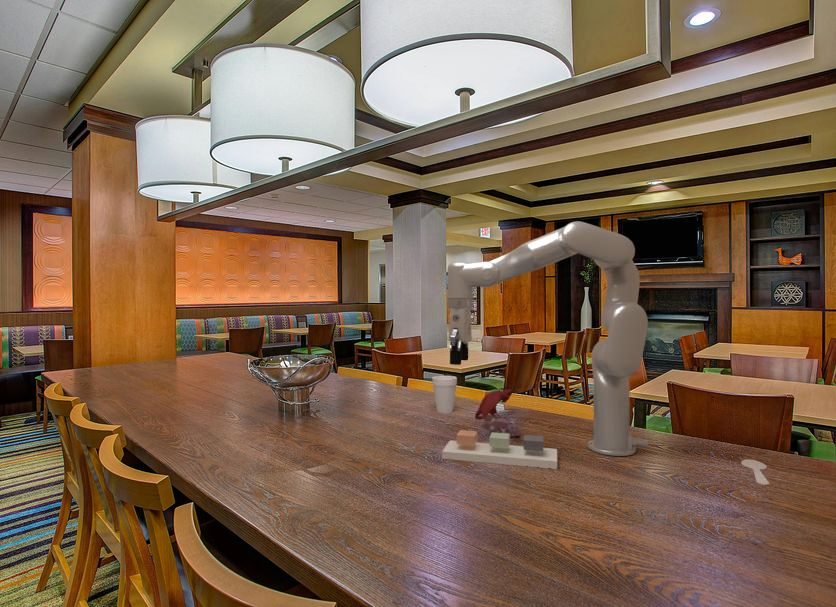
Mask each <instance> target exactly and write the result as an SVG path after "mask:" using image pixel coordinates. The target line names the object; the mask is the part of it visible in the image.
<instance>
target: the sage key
mask: <svg viewBox="0 0 836 607" xmlns="http://www.w3.org/2000/svg"><path fill="white" fill-rule="evenodd" d="M488 439H489V440H488V441H489V442H488V443H489V447H497V448H509V445H511V437H510V434H507V433H504V432H502V433H494V432H492V433H491V432H490V435H489V438H488Z"/></svg>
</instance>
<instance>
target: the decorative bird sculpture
mask: <svg viewBox="0 0 836 607" xmlns="http://www.w3.org/2000/svg"><path fill="white" fill-rule="evenodd" d="M513 393H514V389H506V390H499V389H498V390H493V391H490V392H489V393H487V394H486V395H485V396H483V398H482V400H481V402H480V403H479V404H480V405H479V407H478V408H477V410H476V413H475V415H474V418H476V419H477V418H478V417H479V416H480V415H481V417H480V418H481V419H482V421H484V420H485V419H486V418H487V416H488V415H490V416H493V417H494V418H495V419H500V418H501V419H502V417H503V415H502V416H500V415H499V414H498V410H497V405H498V404H499V403H500V402H501V403H507V401H508V400H510V398H511V396H512V394H513ZM496 415H497V416H496ZM498 417H499V418H498Z"/></svg>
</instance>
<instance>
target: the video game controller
mask: <svg viewBox="0 0 836 607" xmlns="http://www.w3.org/2000/svg"><path fill="white" fill-rule="evenodd" d="M499 418H500V417H499ZM499 418H498V419H497V418H492V419H491V420H490V421H488V422H487V427H486V428H487V429H488V430H489V432H490V434H491V433H492V432H494V433H507V434H510V438H511V437H512V435H514V436H516V437H520V436H521V429H520V427H519V426H518V424H517V423H516V422H515V421H514V420H509V419H506V418H502V417H501V418H500V419H499ZM502 430H504V432H503V431H502Z"/></svg>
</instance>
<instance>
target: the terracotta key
mask: <svg viewBox="0 0 836 607" xmlns="http://www.w3.org/2000/svg"><path fill="white" fill-rule="evenodd" d="M478 440H479V438H478V431H477V430H465V429H459V431H458V432H457V433H456V441H457V444H461V445H473V446H475V444H476V443H478V442H477V441H478Z"/></svg>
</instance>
